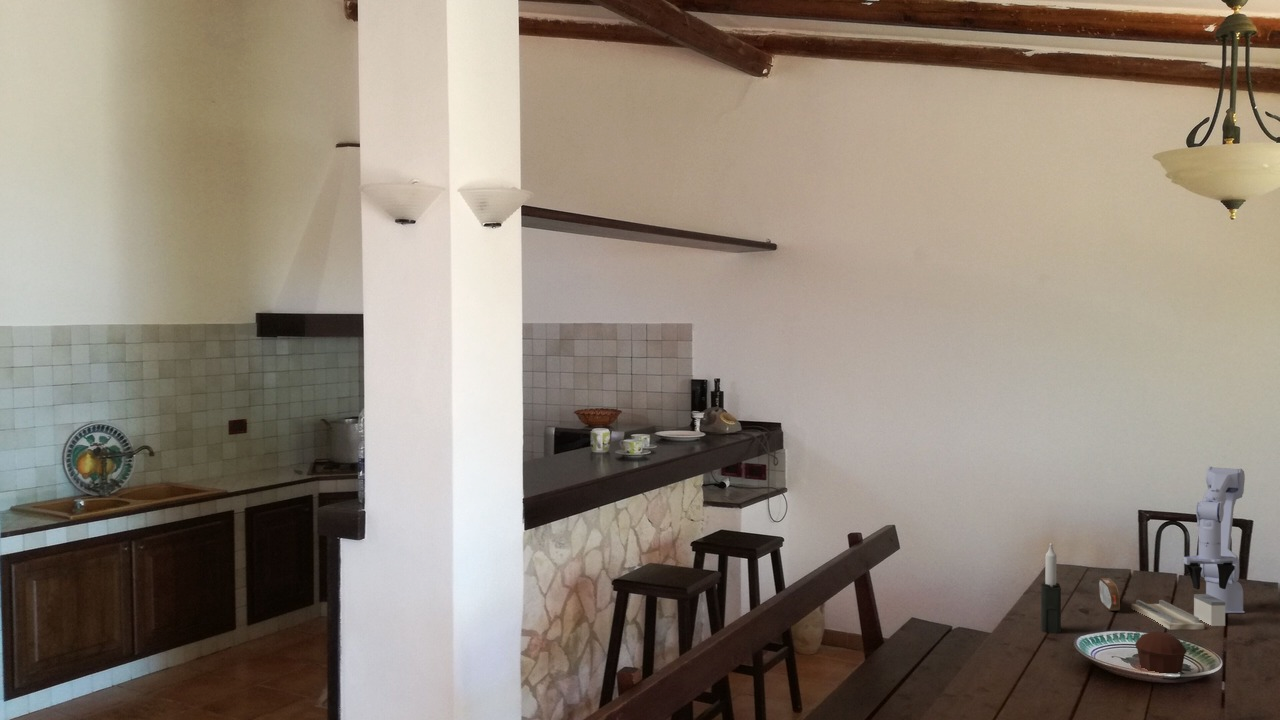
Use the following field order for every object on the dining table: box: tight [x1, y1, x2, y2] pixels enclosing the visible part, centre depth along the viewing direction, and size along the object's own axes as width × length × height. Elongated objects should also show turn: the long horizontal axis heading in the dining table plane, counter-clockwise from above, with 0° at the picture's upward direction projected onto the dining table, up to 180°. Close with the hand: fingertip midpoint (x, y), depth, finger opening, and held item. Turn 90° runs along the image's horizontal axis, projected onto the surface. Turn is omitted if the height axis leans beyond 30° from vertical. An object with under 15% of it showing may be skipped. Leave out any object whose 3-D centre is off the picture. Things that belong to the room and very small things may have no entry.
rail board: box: [1131, 599, 1205, 631], centre depth 295 cm, size 10×22×3 cm, turn 0°
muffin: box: [1135, 630, 1187, 673], centre depth 247 cm, size 12×11×10 cm
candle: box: [1040, 542, 1062, 634], centre depth 284 cm, size 5×5×25 cm
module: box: [1193, 593, 1226, 627], centre depth 292 cm, size 4×9×7 cm, turn 0°
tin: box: [1098, 577, 1121, 612], centre depth 308 cm, size 15×3×8 cm, turn 168°
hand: (1209, 588), depth 292 cm, fingers open, 7 cm apart
